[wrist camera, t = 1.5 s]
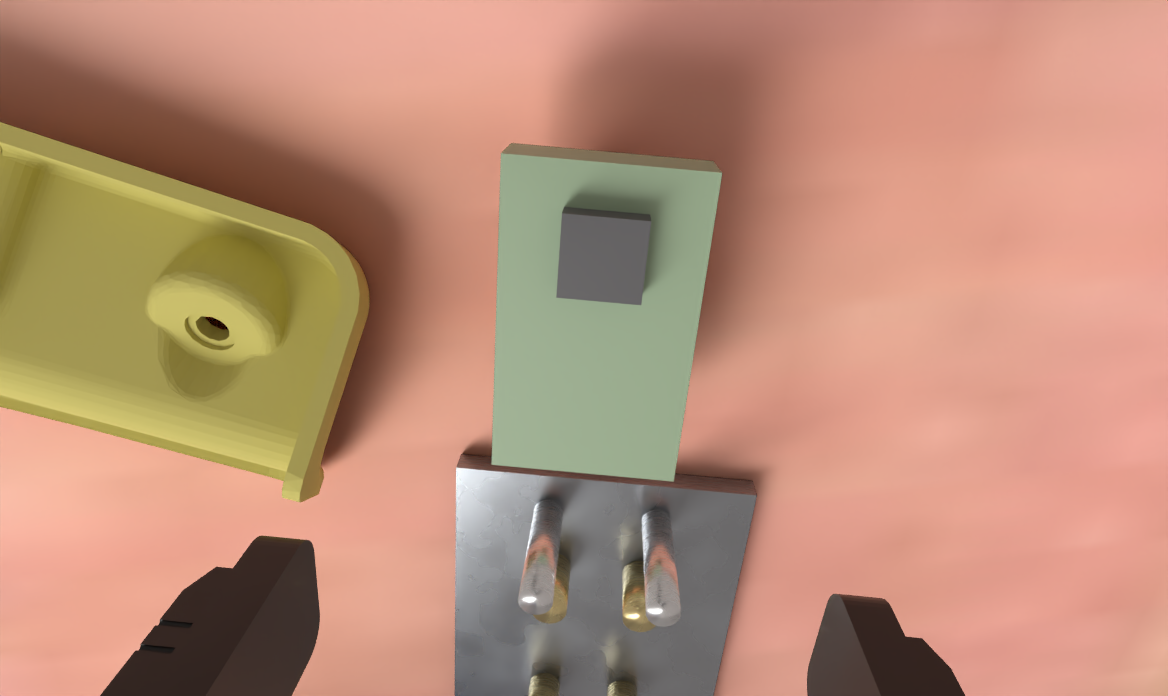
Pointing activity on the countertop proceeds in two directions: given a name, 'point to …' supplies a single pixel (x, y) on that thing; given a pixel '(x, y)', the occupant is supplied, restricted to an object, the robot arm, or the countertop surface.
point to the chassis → (593, 581)
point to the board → (598, 307)
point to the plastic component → (171, 312)
